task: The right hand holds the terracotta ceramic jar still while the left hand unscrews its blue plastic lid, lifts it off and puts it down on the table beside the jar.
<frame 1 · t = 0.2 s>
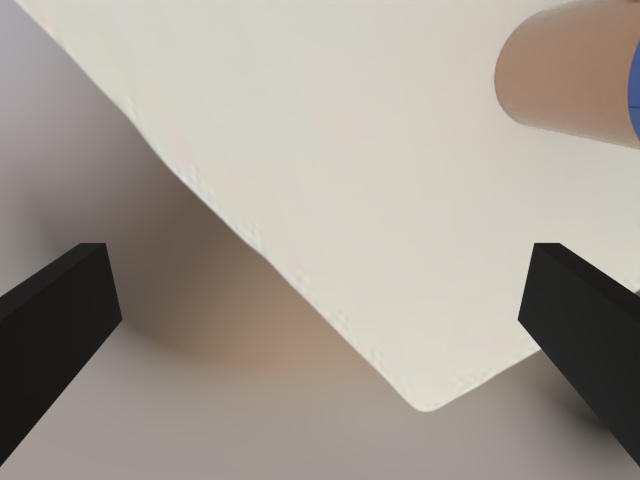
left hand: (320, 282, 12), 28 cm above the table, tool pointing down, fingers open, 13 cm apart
jar: (549, 70, 36), on the table
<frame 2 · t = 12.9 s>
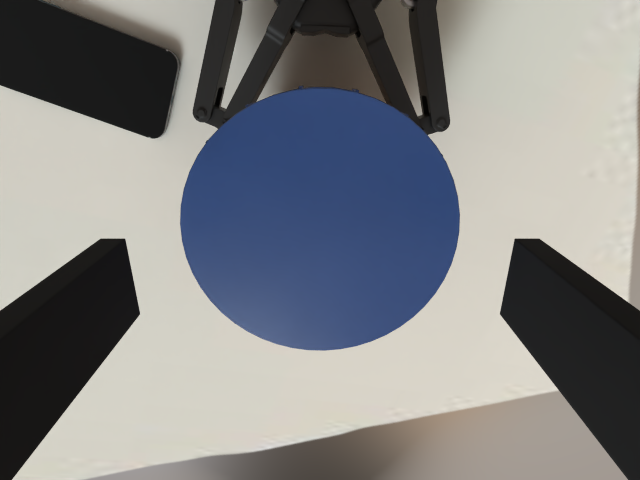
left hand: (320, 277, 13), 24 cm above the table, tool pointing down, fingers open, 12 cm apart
right hand: (317, 221, 31), fingers closed on jar, 10 cm apart
smartphone: (83, 66, 32), on the table
lid: (320, 233, 16), point 20 cm above the table, screwed on, not yet turned
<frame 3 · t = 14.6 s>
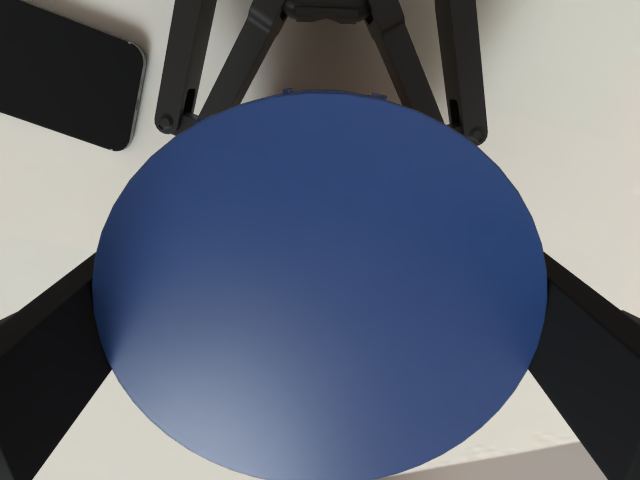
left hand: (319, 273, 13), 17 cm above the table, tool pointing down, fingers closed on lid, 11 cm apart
smartphone: (27, 62, 26), on the table
lid: (319, 322, 10), point 20 cm above the table, screwed on, not yet turned, touching left hand
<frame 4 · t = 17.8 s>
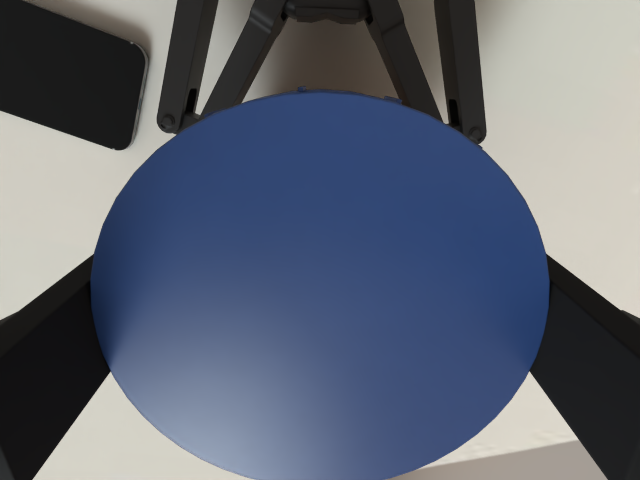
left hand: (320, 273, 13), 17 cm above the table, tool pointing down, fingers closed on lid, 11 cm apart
smartphone: (30, 62, 26), on the table
lid: (319, 324, 10), point 20 cm above the table, turned 103° so far, risen 0.3 cm, still on its thread, touching left hand
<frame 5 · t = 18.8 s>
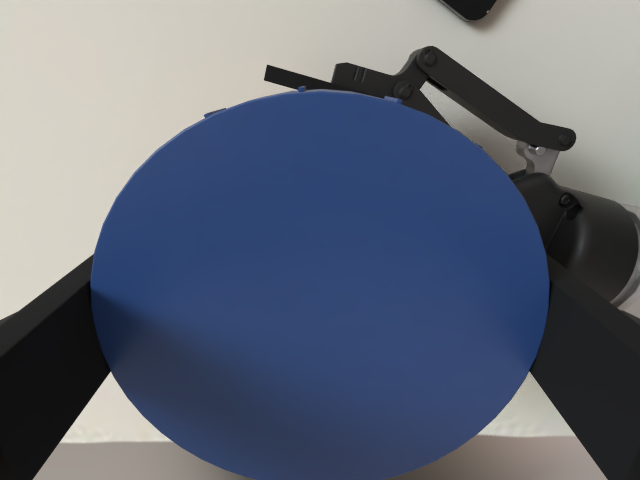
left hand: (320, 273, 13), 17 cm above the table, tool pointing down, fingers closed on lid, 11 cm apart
right hand: (249, 169, 23), fingers closed on jar, 10 cm apart
lid: (320, 324, 10), point 20 cm above the table, off its thread, touching left hand
when the left hand's fingers open (1 cm above the table, at t = 24.6 s): lid drops 2 cm, point 2 cm above the table.
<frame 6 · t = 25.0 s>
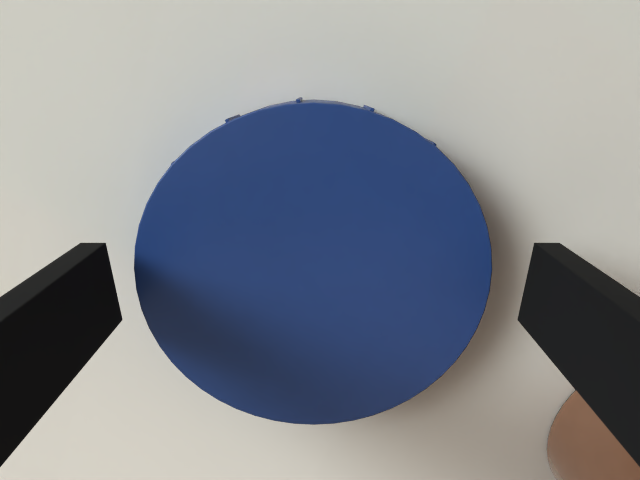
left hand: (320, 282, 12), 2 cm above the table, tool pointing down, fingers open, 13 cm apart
lid: (313, 284, 13), point 2 cm above the table, off its thread
when the right hand's fingers open (6 cm above the table, at t = 25.6 s): jar stays where it is, on the table.
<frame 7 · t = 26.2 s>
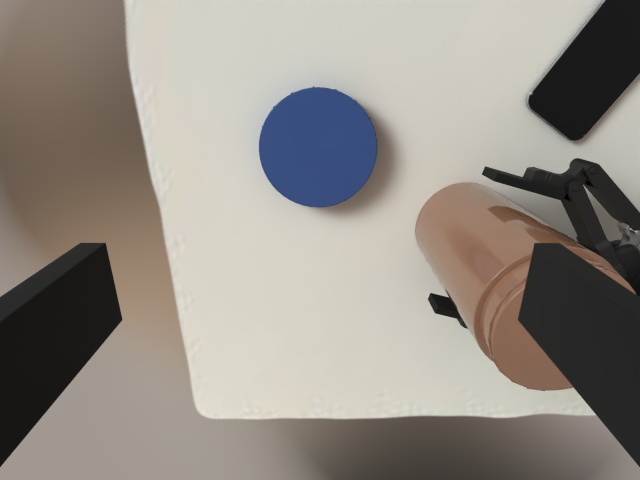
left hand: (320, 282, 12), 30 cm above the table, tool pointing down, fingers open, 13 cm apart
right hand: (458, 242, 37), fingers open, 13 cm apart
jar: (460, 227, 43), on the table
smartphone: (604, 53, 37), on the table
lid: (318, 150, 38), point 2 cm above the table, off its thread
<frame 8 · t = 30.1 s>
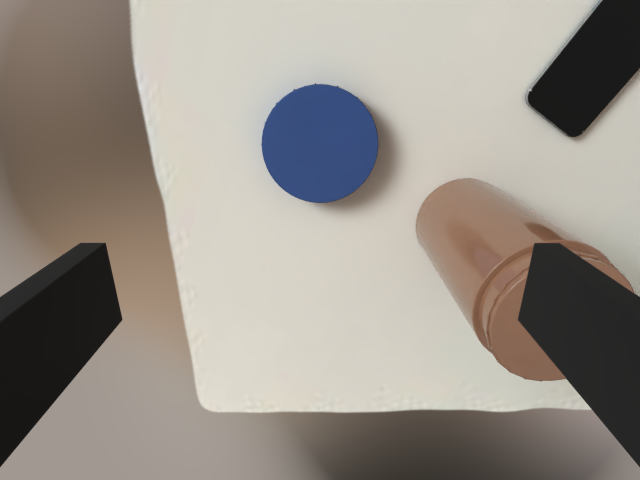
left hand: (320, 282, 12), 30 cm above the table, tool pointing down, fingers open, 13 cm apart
jar: (460, 222, 44), on the table
smartphone: (603, 50, 37), on the table
lid: (319, 146, 39), point 2 cm above the table, off its thread
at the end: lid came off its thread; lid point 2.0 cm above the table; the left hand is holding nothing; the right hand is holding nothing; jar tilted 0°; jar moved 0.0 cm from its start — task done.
